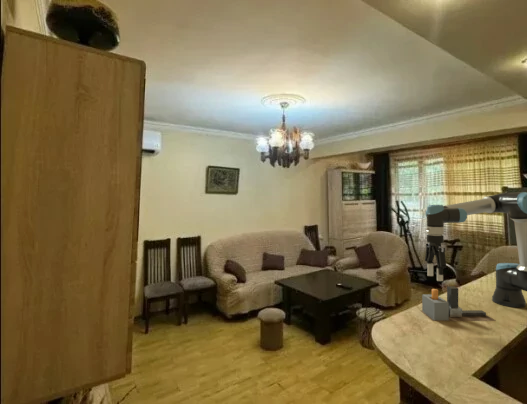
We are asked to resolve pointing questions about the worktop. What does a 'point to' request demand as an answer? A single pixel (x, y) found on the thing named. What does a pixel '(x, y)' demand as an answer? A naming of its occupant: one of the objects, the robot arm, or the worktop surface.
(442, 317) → the end cabinet
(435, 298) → the button
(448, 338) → the worktop surface
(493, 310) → the worktop surface
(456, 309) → the carriage
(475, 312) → the rail
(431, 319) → the base board
